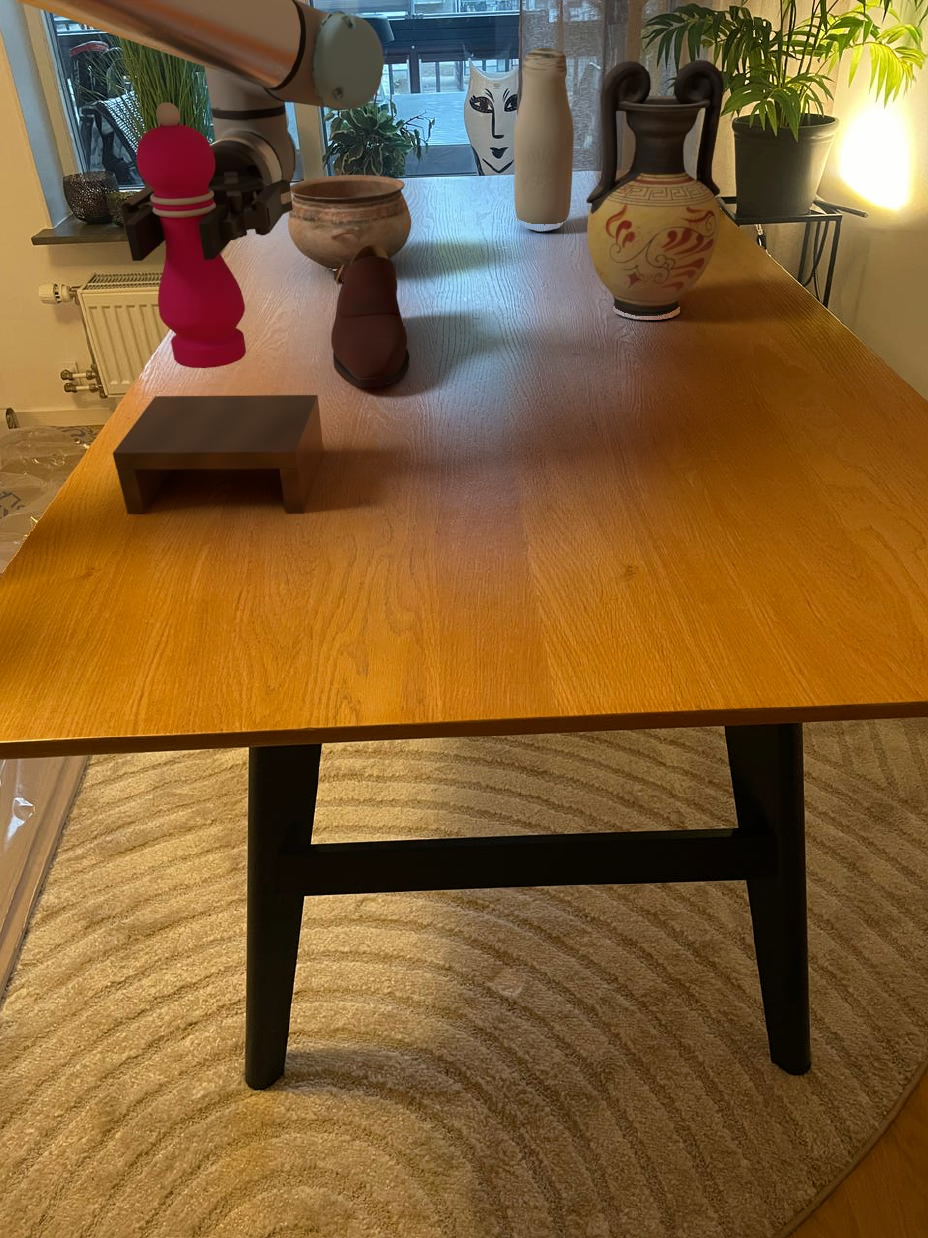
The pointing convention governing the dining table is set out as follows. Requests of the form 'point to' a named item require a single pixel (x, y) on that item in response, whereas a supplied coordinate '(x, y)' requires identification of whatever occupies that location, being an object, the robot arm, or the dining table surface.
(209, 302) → the pepper mill
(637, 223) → the amphora
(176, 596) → the dining table surface
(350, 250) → the cooking pot
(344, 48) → the robot arm
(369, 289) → the dress shoe
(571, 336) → the dining table surface
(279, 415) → the shelf
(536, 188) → the tan bottle
